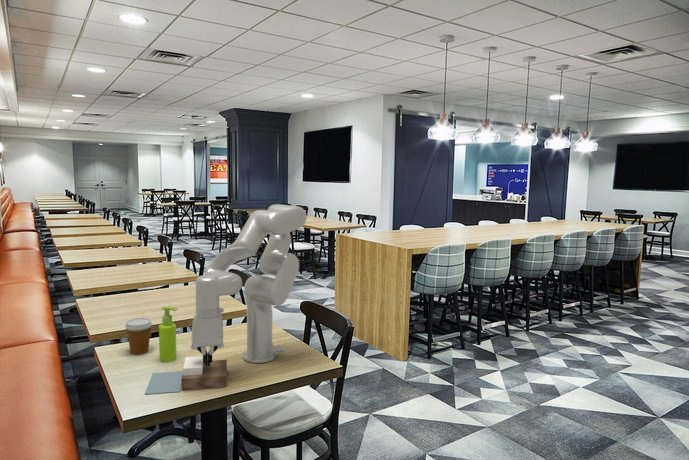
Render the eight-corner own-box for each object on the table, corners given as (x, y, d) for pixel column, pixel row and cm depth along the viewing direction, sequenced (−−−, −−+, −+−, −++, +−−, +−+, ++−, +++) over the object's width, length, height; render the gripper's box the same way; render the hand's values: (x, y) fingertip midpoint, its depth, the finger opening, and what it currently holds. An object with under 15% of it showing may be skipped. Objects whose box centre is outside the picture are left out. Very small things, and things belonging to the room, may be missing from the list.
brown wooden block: (226, 370, 169) (226, 359, 168) (226, 387, 156) (226, 375, 156) (185, 372, 166) (185, 362, 165) (181, 390, 153) (181, 378, 153)
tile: (204, 363, 165) (203, 356, 164) (202, 374, 156) (202, 367, 156) (185, 364, 163) (185, 357, 163) (183, 375, 155) (182, 368, 154)
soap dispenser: (173, 363, 173) (172, 310, 170) (156, 361, 175) (155, 308, 172) (182, 356, 179) (181, 305, 176) (165, 354, 180) (164, 304, 177)
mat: (184, 371, 167) (184, 370, 167) (179, 392, 152) (179, 391, 152) (152, 373, 164) (152, 373, 164) (144, 394, 150) (144, 393, 150)
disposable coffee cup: (148, 356, 178) (147, 325, 177) (122, 356, 178) (120, 325, 176) (156, 346, 188) (155, 317, 186) (131, 346, 187) (130, 317, 185)
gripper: (230, 308, 163) (230, 359, 166) (185, 309, 160) (185, 361, 162) (230, 315, 156) (230, 368, 159) (182, 316, 152) (183, 371, 155)
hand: (207, 364), depth 160 cm, fingers closed
